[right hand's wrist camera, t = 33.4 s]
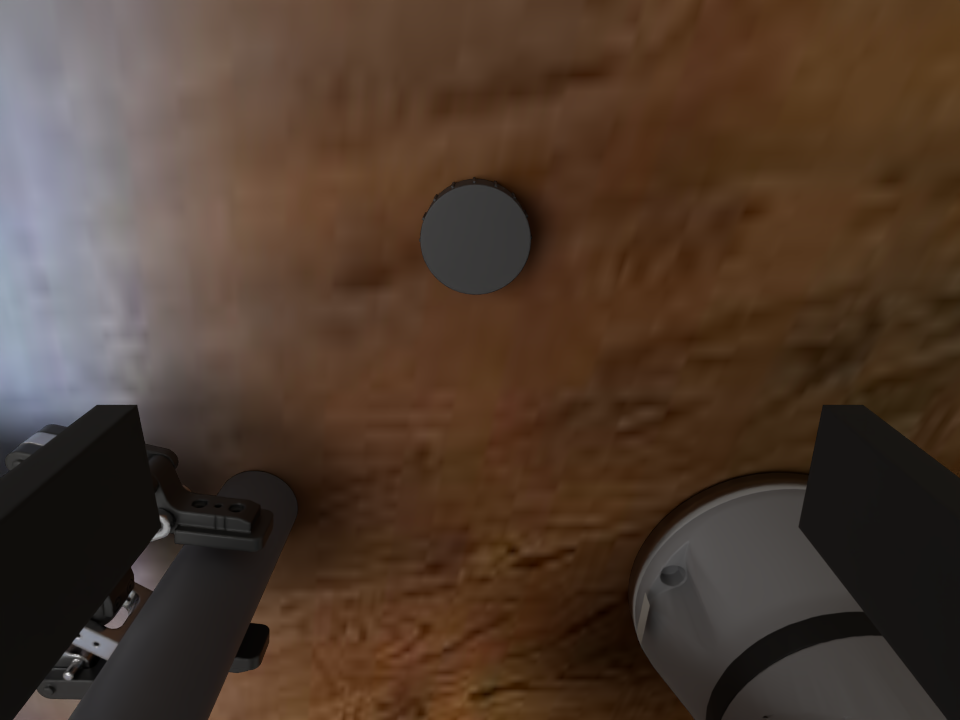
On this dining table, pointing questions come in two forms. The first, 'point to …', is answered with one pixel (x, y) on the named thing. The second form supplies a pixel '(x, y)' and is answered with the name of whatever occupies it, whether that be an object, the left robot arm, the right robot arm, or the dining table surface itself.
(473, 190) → the lid
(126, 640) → the dark grey bottle
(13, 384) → the dining table surface
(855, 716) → the right robot arm
